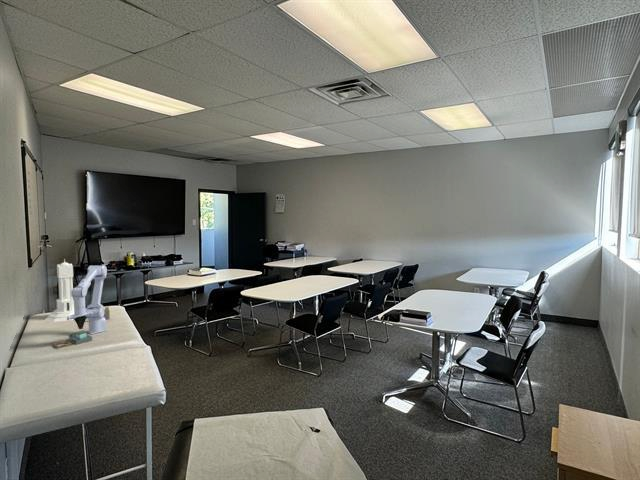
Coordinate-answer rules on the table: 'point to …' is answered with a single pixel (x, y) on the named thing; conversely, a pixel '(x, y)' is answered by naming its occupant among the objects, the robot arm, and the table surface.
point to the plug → (81, 334)
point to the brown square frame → (62, 345)
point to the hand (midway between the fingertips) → (80, 328)
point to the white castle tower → (63, 294)
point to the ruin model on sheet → (106, 313)
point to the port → (78, 341)
